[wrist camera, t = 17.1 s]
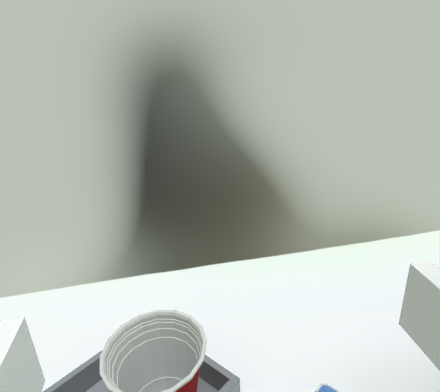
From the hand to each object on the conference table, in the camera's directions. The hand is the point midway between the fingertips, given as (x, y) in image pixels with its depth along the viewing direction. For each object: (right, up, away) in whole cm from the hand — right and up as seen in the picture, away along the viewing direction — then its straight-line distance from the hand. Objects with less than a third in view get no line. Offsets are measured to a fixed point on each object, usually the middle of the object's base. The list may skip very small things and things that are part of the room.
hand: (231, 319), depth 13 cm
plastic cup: (-7, -22, +29) cm, 37 cm away
